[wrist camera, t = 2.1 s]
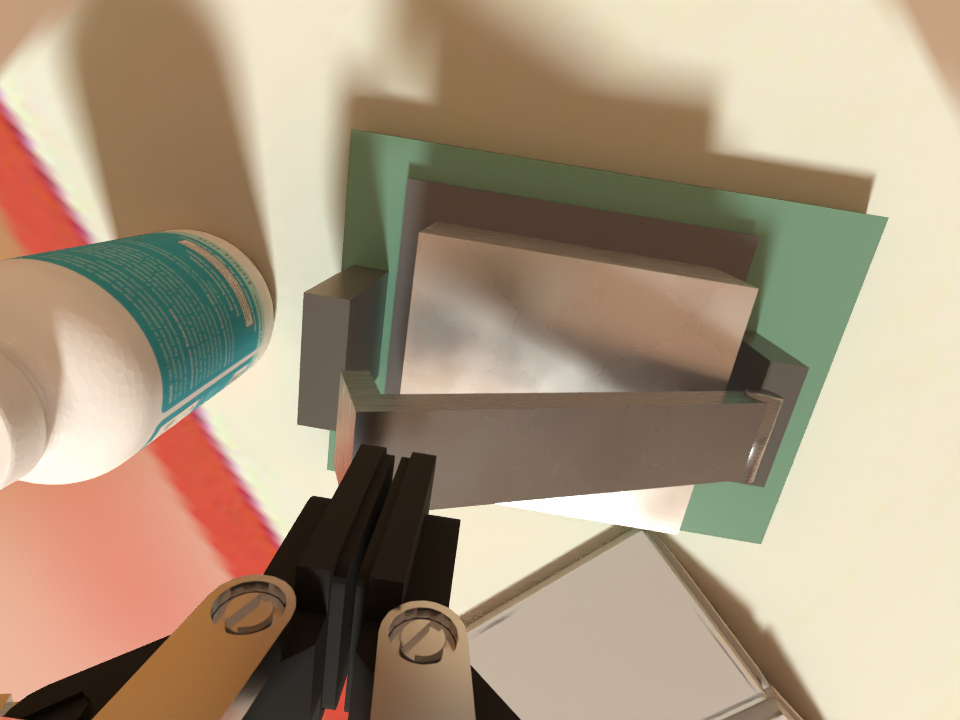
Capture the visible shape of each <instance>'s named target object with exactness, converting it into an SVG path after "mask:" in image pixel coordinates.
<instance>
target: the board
mask: <svg viewBox="0 0 960 720" xmlns="http://www.w3.org/2000/svg"><path fill="white" fill-rule="evenodd" d="M887 221H888V217H882V216H875V215H869V214H863V213H857V212H851V211H845V210H839V209H833V208H827V207H821V206H815V205H809V204H802V203H796V202H790V201H784V200H778V199H772V198H766V197H760V196H754V195H748V194H742V193H736V192H730V191H723V190H717V189H711V188H705V187H699V186H693V185H687V184H681V183H675V182H669V181H663V180H657V179H651V178H644V177H638V176H632V175H626V174H620V173H614V172H608V171H602V170H596V169H590V168H584V167H578V166H572V165H565V164H559V163H553V162H547V161H541V160H535V159H529V158H523V157H517V156H511V155H505V154H499V153H492V152H486V151H480V150H474V149H468V148H462V147H456V146H450V145H444V144H438V143H432V142H426V141H420V140H413V139H407V138H401V137H395V136H389V135H383V134H377V133H371V132H365V131H359V130H353V129H352V131H351V144H350V158H349V172H348V186H347V200H346V214H345V228H344V242H343V256H342V270H341V272H340V273H338V274H336V275H334V276H332V277H331V278H329V279H327V280H325V281H324V282H322V283H320V284H318V285H316V286H315V287H313V288H311V289H309V290H307V291H306V292H304V299H303V319H302V339H301V359H300V380H299V400H298V420H297V425H303V426H309V427H315V428H321V429H327V430H330V437H329V451H328V465H327V470H332V471H335V468H334V453H335V440H336V427H337V414H338V401H339V387H340V374H341V371H370V373H371V375H372V377H373V379H374V381H375V383H376V385H377V387H378V389H379V391H380V393H381V394H462V393H565V392H668V391H745V390H746V388H747V387H757V388H762V389H766V390H769V391H771V392H774V393H776V394H778V395H780V396H781V397H782V398H783V402H782V405H781V408H780V410H779V413H778V416H777V418H776V421H775V424H774V427H773V429H772V432H771V435H770V437H769V440H768V443H767V446H766V448H765V451H764V454H763V456H762V459H761V462H760V465H759V467H758V470H757V473H756V475H755V478H754V481H753V482H752V483H749V484H745V483H739V482H736V481H727V482H716V483H706V484H695V485H685V486H674V487H664V488H653V489H643V490H633V491H622V492H612V493H601V494H591V495H580V496H570V497H559V498H549V499H539V500H528V501H518V502H507V503H497V504H500V505H506V506H511V507H517V508H523V509H529V510H535V511H541V512H546V513H552V514H558V515H564V516H570V517H576V518H581V519H587V520H593V521H599V522H605V523H610V524H616V525H622V526H628V527H634V528H640V529H645V530H651V531H657V532H663V533H669V534H675V535H678V533H679V530H681V531H687V532H693V533H699V534H705V535H711V536H716V537H722V538H728V539H734V540H740V541H746V542H751V543H757V544H761V543H762V540H763V538H764V535H765V533H766V530H767V527H768V525H769V522H770V520H771V517H772V515H773V512H774V510H775V507H776V504H777V502H778V499H779V497H780V494H781V492H782V489H783V487H784V484H785V481H786V479H787V476H788V474H789V471H790V469H791V466H792V464H793V461H794V458H795V456H796V453H797V451H798V448H799V446H800V443H801V441H802V438H803V435H804V433H805V430H806V428H807V425H808V423H809V420H810V418H811V415H812V412H813V410H814V407H815V405H816V402H817V400H818V397H819V395H820V392H821V389H822V387H823V384H824V382H825V379H826V377H827V374H828V372H829V369H830V366H831V364H832V361H833V359H834V356H835V354H836V351H837V349H838V346H839V343H840V341H841V338H842V336H843V333H844V331H845V328H846V326H847V323H848V320H849V318H850V315H851V313H852V310H853V308H854V305H855V303H856V300H857V297H858V295H859V292H860V290H861V287H862V285H863V282H864V280H865V277H866V274H867V272H868V269H869V267H870V264H871V262H872V259H873V257H874V254H875V251H876V249H877V246H878V244H879V241H880V239H881V236H882V234H883V231H884V228H885V226H886V223H887Z"/></svg>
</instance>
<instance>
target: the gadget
mask: <svg viewBox="0 0 960 720" xmlns="http://www.w3.org/2000/svg"><path fill="white" fill-rule="evenodd" d="M465 628H466V632H467V635H468V644H469V655H470V665H471V666H472V667H473V668H474V669H475V670H476V671H477V672H478V673H479V674H480V675H481V677H482V678H483V679H484V680H485V681H486V682H487V683H488V684H489V685H490V686H491V688H492V689H493V690H494V691H495V692H496V693H497V694H498V695H499V696H500V697H501V698H502V700H503V701H504V702H505V703H506V704H507V705H508V706H509V707H510V708H511V709H512V711H513V712H514V713H515V714H516V715H517V716H518V717H519V718H520V719H521V720H804V719H803V718H802V717H801V716H800V715H799V714H798V713H797V712H796V711H795V710H794V709H793V708H792V707H791V705H790V704H789V703H788V702H787V701H786V700H785V699H784V698H783V697H782V696H781V695H780V694H779V693H778V691H777V690H776V689H775V688H774V687H773V686H772V685H769V682H768V680H767V679H766V677H765V676H764V675H763V673H762V672H761V671H760V669H759V668H758V667H757V665H756V664H755V663H754V661H753V660H752V659H751V657H750V656H749V655H748V653H747V652H746V651H745V649H744V648H743V646H742V645H741V644H740V642H739V641H738V640H737V638H736V637H735V636H734V634H733V633H732V632H731V630H730V629H729V628H728V626H727V625H726V624H725V622H724V621H723V620H722V618H721V617H720V616H719V614H718V613H717V612H716V610H715V609H714V608H713V606H712V605H711V603H710V602H709V601H708V599H707V598H706V597H705V595H704V594H703V593H702V591H701V590H700V589H699V587H698V586H697V585H696V583H695V582H694V581H693V579H692V578H691V577H690V575H689V574H688V573H687V571H686V570H685V569H684V567H683V566H682V565H681V563H680V562H679V560H678V559H677V558H676V557H675V555H674V554H673V553H672V552H671V550H670V549H669V548H668V547H667V545H666V544H665V543H664V542H663V540H662V539H661V538H660V537H659V536H658V534H657V533H656V532H655V531H651V530H650V531H648V532H647V531H646V530H645V529H640V528H634V527H633V528H632V529H630V530H628V531H627V532H625V533H623V534H621V535H620V536H618V537H616V538H615V539H613V540H611V541H610V542H608V543H606V544H605V545H603V546H601V547H599V548H598V549H596V550H594V551H593V552H591V553H589V554H588V555H586V556H584V557H582V558H581V559H579V560H577V561H576V562H574V563H572V564H571V565H569V566H567V567H565V568H564V569H562V570H560V571H559V572H557V573H555V574H554V575H552V576H550V577H548V578H547V579H545V580H543V581H542V582H540V583H538V584H537V585H535V586H533V587H531V588H530V589H528V590H526V591H525V592H523V593H521V594H520V595H518V596H516V597H515V598H513V599H511V600H509V601H508V602H506V603H504V604H503V605H501V606H499V607H498V608H496V609H494V610H492V611H491V612H489V613H487V614H486V615H484V616H482V617H481V618H479V619H477V620H475V621H474V622H472V623H470V624H469V625H467V626H465Z"/></svg>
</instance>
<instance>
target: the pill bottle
mask: <svg viewBox="0 0 960 720" xmlns="http://www.w3.org/2000/svg"><path fill="white" fill-rule="evenodd" d="M273 322H274V312H273V304H272V299H271V296H270V293H269V290H268V287H267V285H266V283H265V281H264V279H263V277H262V275H261V274H260V272H259V271H258V269H257V268H256V267H255V265H254V264H253V263H252V262H251V261H250V260H249V258H248V257H247V256H246V255H245V254H243V253H242V252H241V251H240V250H239V249H237V248H236V247H235V246H233V245H232V244H230V243H229V242H227V241H225V240H223V239H221V238H219V237H217V236H214V235H211V234H209V233H206V232H202V231H197V230H188V229H176V230H168V231H163V232H156V233H150V234H145V235H139V236H134V237H128V238H123V239H117V240H112V241H106V242H101V243H95V244H90V245H84V246H78V247H73V248H67V249H62V250H56V251H50V252H45V253H39V254H34V255H28V256H23V257H17V258H11V259H6V260H1V261H0V489H2V488H4V487H6V486H7V485H9V484H11V483H13V482H15V481H16V480H21V481H26V482H31V483H38V484H68V483H75V482H80V481H85V480H88V479H92V478H95V477H97V476H100V475H103V474H105V473H107V472H109V471H110V470H112V469H114V468H116V467H117V466H119V465H121V464H122V463H124V462H125V461H126V460H128V459H129V458H130V457H132V456H133V455H134V454H136V453H137V452H139V451H140V450H141V449H143V448H144V447H145V446H147V445H148V444H149V443H151V442H152V441H153V440H155V439H156V438H157V437H159V436H160V435H161V434H163V433H164V432H165V431H167V430H168V429H169V428H171V427H172V426H174V425H175V424H176V423H178V422H179V421H180V420H182V419H183V418H184V417H186V416H187V415H188V414H190V413H191V412H192V411H194V410H195V409H196V408H198V407H199V406H200V405H202V404H203V403H204V402H206V401H207V400H209V399H210V398H211V397H213V396H214V395H215V394H217V393H218V392H219V391H221V390H222V389H224V388H225V387H226V386H227V385H229V384H230V383H232V382H233V381H234V380H236V379H237V378H238V377H240V376H241V375H242V374H244V373H245V372H246V371H248V370H249V369H250V368H251V367H252V366H254V365H255V363H256V362H257V361H258V360H259V359H260V358H261V356H262V355H263V354H264V352H265V350H266V348H267V346H268V344H269V342H270V339H271V335H272V331H273Z"/></svg>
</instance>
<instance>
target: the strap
mask: <svg viewBox="0 0 960 720" xmlns="http://www.w3.org/2000/svg"><path fill="white" fill-rule="evenodd" d="M782 402H783V398H782V397H781V396H780V395H778V394H776V393H774V392H771V391H769V390H766V389H762V388H757V387H747V388H746V390H745V391H668V392H565V393H462V394H381V393H380V391H379V389H378V387H377V385H376V383H375V381H374V379H373V377H372V375H371V373H370V371H341V374H340V387H339V401H338V414H337V427H336V440H335V453H334V468H335V472H336V476H337V480H338V484H340V483H341V481H342V479H343V477H344V475H345V473H346V471H347V470H348V468H349V466H350V464H351V462H352V460H353V458H354V456H355V455H356V453H357V451H358V449H359V447H360V445H361V444H368V445H374V446H381V447H386V448H387V454H389V455H395V463H394V471H393V479H394V476H395V473H396V471H397V468H398V465H399V463H400V460H401V457H408V458H410V457H411V454H412V452H418V453H424V454H430V455H436V456H437V458H436V466H435V473H434V479H433V486H432V493H431V500H430V507H429V510H434V509H445V508H455V507H465V506H476V505H486V504H497V503H507V502H518V501H528V500H539V499H549V498H559V497H570V496H580V495H591V494H601V493H612V492H622V491H633V490H643V489H653V488H664V487H674V486H685V485H695V484H706V483H716V482H727V481H736V482H739V483H745V484H749V483H752V482H753V481H754V478H755V475H756V473H757V470H758V467H759V465H760V462H761V459H762V456H763V454H764V451H765V448H766V446H767V443H768V440H769V437H770V435H771V432H772V429H773V427H774V424H775V421H776V418H777V416H778V413H779V410H780V408H781V405H782ZM392 481H393V480H392Z"/></svg>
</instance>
